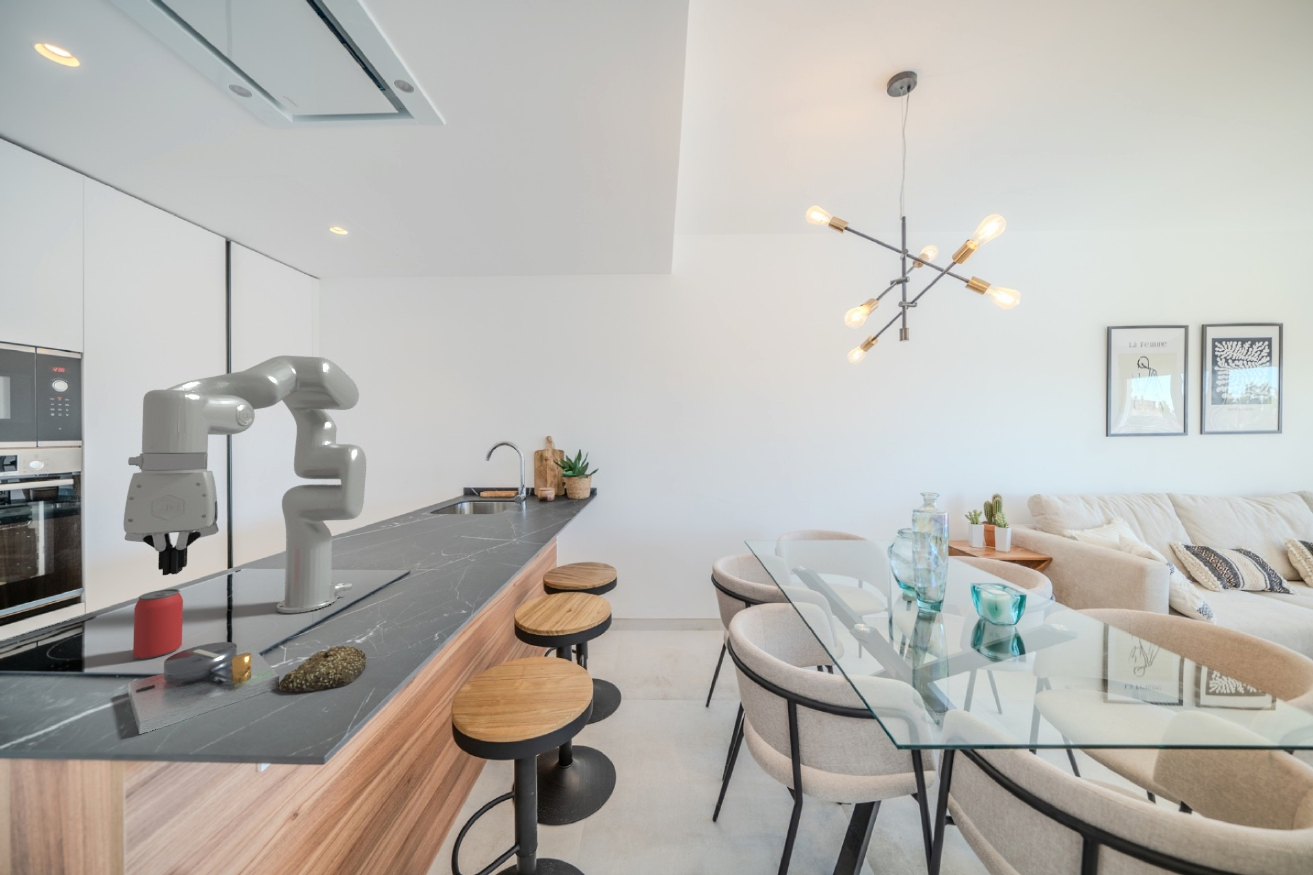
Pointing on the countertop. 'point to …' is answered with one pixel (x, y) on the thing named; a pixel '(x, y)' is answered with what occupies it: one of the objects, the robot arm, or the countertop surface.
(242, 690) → the plate
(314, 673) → the bread roll
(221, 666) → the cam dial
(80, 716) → the countertop surface
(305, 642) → the countertop surface
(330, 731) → the countertop surface
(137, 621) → the beer can
